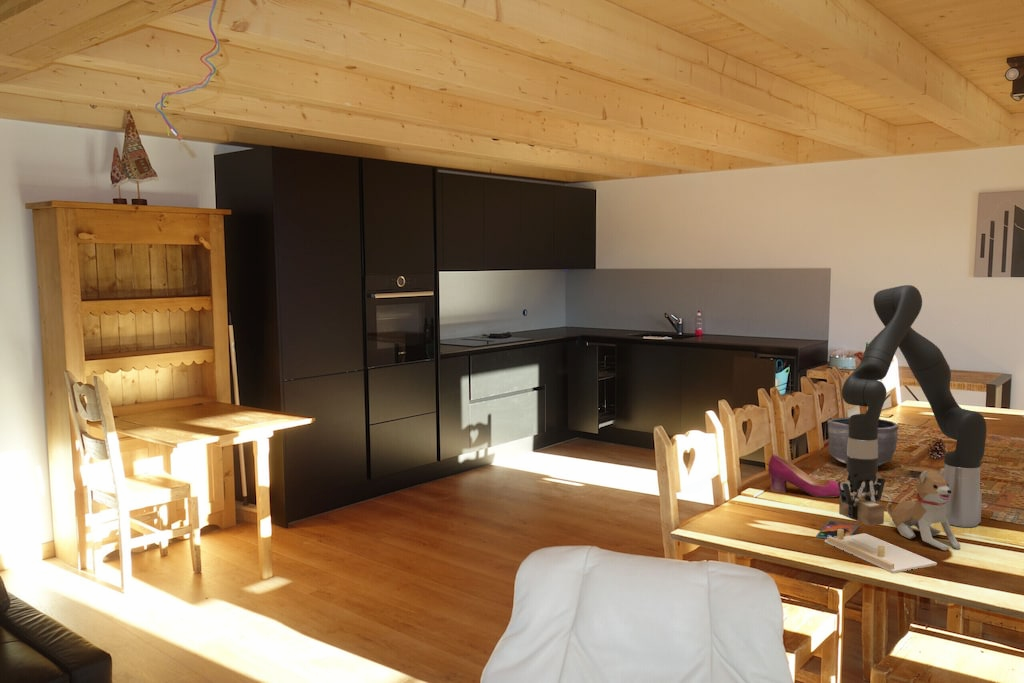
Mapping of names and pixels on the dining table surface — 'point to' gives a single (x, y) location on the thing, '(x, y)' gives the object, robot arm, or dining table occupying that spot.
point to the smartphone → (833, 526)
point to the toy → (925, 510)
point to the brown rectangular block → (865, 512)
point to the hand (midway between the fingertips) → (860, 517)
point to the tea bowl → (839, 436)
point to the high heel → (798, 479)
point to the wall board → (889, 554)
